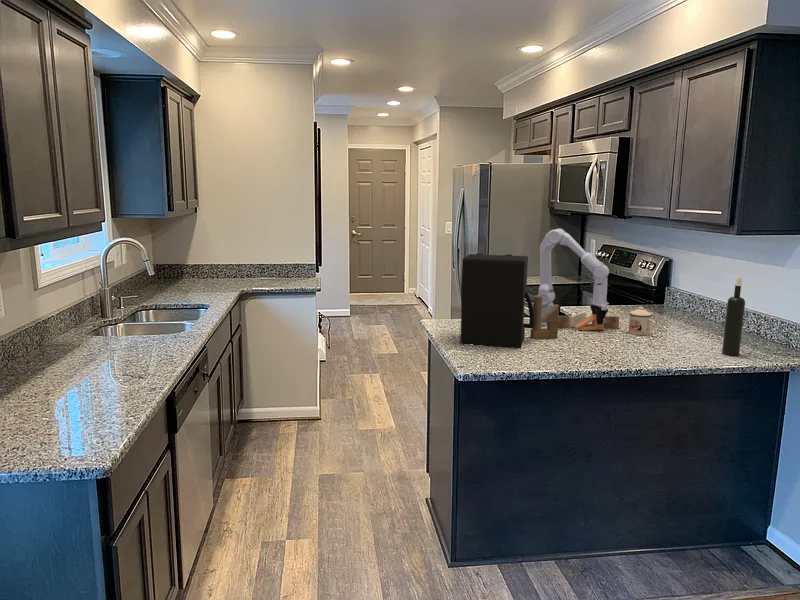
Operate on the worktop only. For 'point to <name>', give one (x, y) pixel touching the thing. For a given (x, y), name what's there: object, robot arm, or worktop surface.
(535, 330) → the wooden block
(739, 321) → the wine bottle
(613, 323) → the brown rectangular block
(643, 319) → the teacup with lid
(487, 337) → the black upright box
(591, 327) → the wedge
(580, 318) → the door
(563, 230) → the robot arm
